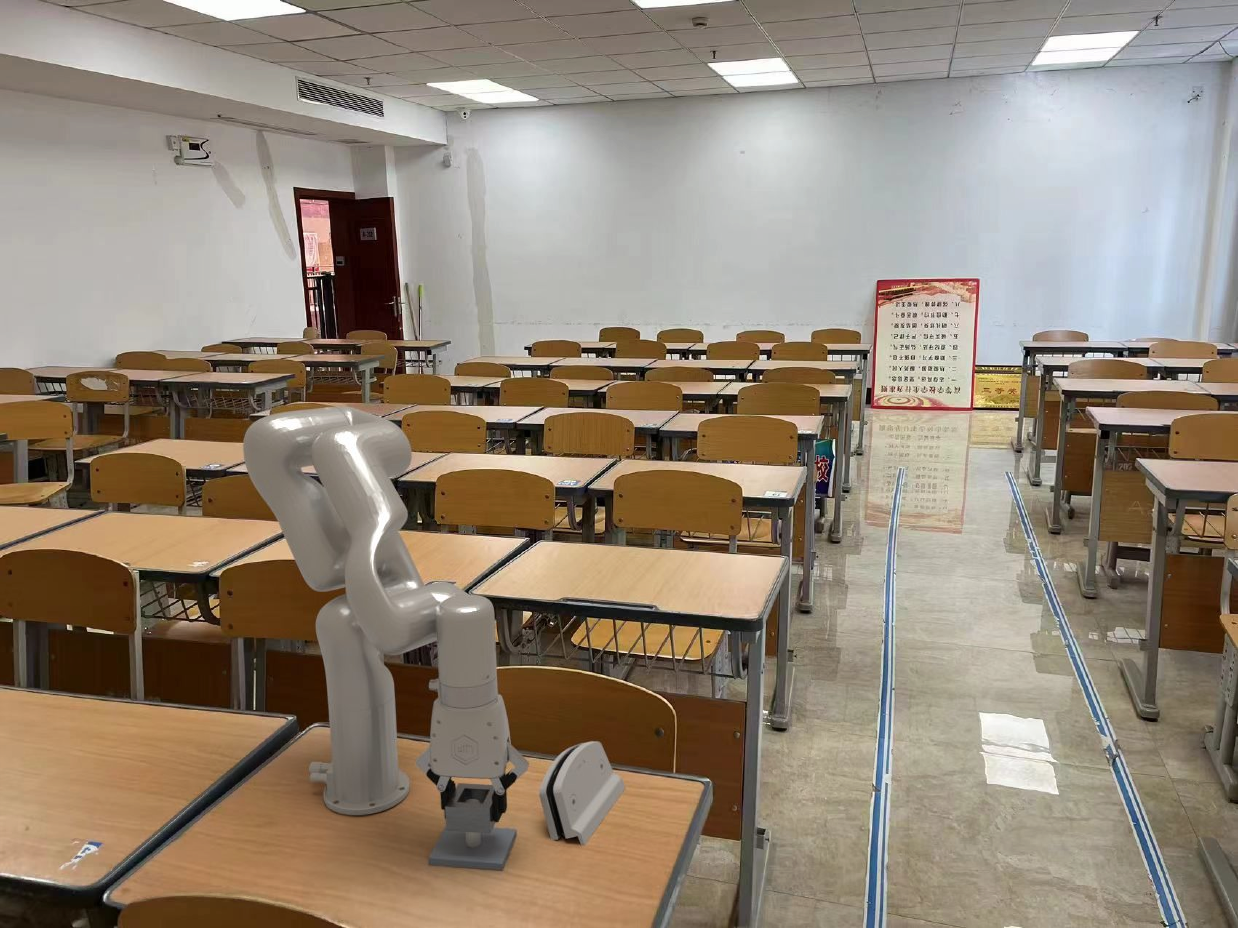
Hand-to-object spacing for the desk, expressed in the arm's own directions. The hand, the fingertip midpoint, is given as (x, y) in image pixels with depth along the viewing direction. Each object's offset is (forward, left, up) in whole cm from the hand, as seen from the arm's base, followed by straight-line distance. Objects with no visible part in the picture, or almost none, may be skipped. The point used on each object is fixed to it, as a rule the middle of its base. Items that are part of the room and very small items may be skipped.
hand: (474, 814), depth 126 cm
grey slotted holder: (+13, +12, -6) cm, 18 cm away
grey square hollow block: (0, 0, -1) cm, 1 cm away
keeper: (0, 0, -5) cm, 5 cm away
